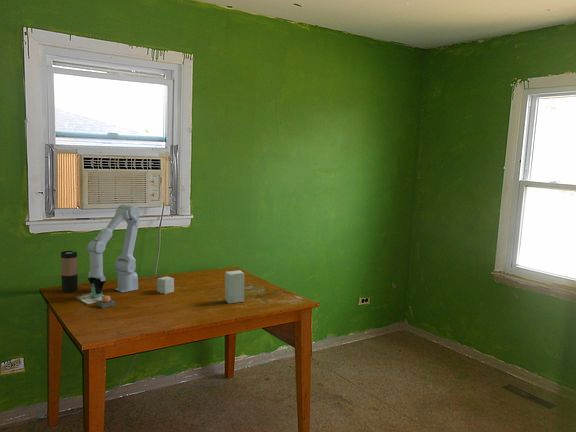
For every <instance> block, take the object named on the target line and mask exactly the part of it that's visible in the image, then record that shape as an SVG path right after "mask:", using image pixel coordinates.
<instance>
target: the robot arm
mask: <svg viewBox="0 0 576 432" xmlns="http://www.w3.org/2000/svg"><path fill="white" fill-rule="evenodd" d="M140 213H141V211H140V209H139V208H138V206H136V205H130V204H129V205H127V204H120V205H119V206H118V207H117V208H116V209H115V213H114V215H113V216H112V218H111V220H110V221H109V222H108V224H107V226H106V227H105V228H104V227H103V228H101V229H100V230H99V232H98V233H97V235H96V236H95V237H94V238H93V240H90V241H89V243H88V244H87V246H86V249H87V250H86V251H88V254H89V255H88V256H89V271H88V272H87V273H88V275H87V281H89V284H90V285H91V284H93V283H94V285H95V289H96V294H101V292H102V293H103V287H104V285H105V283H106V281H107V280H106V276H105V275H104V270H103V269H104V262H103V261H104V258H103V253H104V252H105V250H106V246H107V243H108V242H109V241H110V239H111V238H112V237H113V235H114V234H113V232H114V231H115V229H116V228H117V227H118V226H119V225H120V224H121V222H122V221H125V222H126V224H127V226H126V229H125V234H124V235H125V236H124V242H123V245H122V251H121V254H120V255H118V256H117V258H116V261H115V263H114V269H115V271H116V273H117V287H116V288H114V290H116V291H118V292H120V293H126V292H132V291H137V290H140V289H139V277H138V273H137V272H136V268H137V264H136V262H137V260H136V258H135V257H134V251H135V245H136V240H137V236H138V231H139V227H140V226H139V225H140Z"/></svg>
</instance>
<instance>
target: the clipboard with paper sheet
mask: <svg viewBox="0 0 576 432" xmlns="http://www.w3.org/2000/svg"><path fill="white" fill-rule="evenodd" d="M102 296H106V295H105V294H104V293H102ZM102 296H100V297H93V296H91V292H89V293H84V294H81V295H79V296H74V299H75V300H77V301H79V302H81V303H82V304H84V305H86V306H89V304H90V305H95V304H97V301H101V300H102ZM110 299H111V300H113V298H111V297H110ZM113 301H114V300H113ZM94 303H95V304H94Z"/></svg>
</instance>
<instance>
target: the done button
mask: <svg viewBox="0 0 576 432" xmlns="http://www.w3.org/2000/svg"><path fill="white" fill-rule="evenodd" d="M110 298H111V296H110V295H105V296H102V303H108V302H110Z"/></svg>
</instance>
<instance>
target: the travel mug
mask: <svg viewBox="0 0 576 432" xmlns="http://www.w3.org/2000/svg"><path fill="white" fill-rule="evenodd" d="M78 268H79V267H78V251H73V250H65V251H61V252H60V273H61V274H60V275H61V290H62V293H66V294H67V293H75V292H77V291H78V287H79V286H78V285H79V284H78V283H79V282H78V279H79V278H78V277H79V276H78V275H79V273H78Z"/></svg>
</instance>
